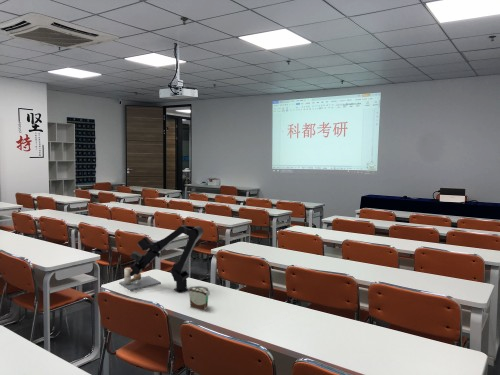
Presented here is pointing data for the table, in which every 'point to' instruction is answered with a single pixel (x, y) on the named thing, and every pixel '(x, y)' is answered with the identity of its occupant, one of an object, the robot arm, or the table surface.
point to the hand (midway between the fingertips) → (130, 275)
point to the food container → (199, 297)
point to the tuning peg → (128, 277)
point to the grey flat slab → (141, 283)
